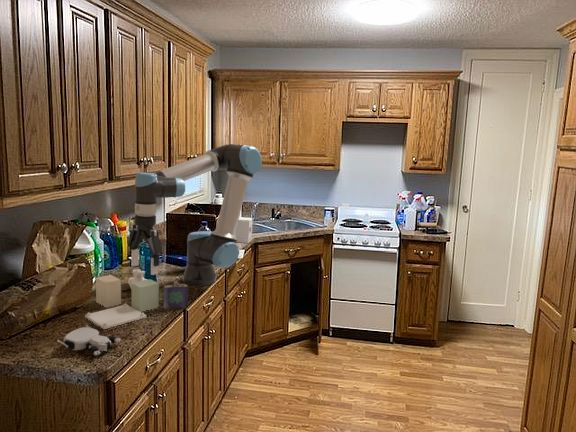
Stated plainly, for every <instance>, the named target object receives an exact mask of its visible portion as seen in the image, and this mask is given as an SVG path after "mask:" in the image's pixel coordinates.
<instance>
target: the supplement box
mask: <svg viewBox="0 0 576 432" xmlns="http://www.w3.org/2000/svg"><path fill="white" fill-rule="evenodd" d="M253 221H254V220H253V217H244V216H239V219H238V223H237V227H236V231H235V236H236V238H237V241H236V243H242V244H249V243H251V242H252V240H253V239H252V237H253Z"/></svg>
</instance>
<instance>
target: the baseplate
mask: <svg viewBox="0 0 576 432" xmlns="http://www.w3.org/2000/svg"><path fill="white" fill-rule="evenodd" d="M84 318H85V319H86V318H87V319H88V320H87V319H86V320H87V321H89V320H90V321H92V322H93V323H95V324H97V325H98V326H100V327H101V328H103V329H106V328H110V327H113V326H117V325H121V324H124V323H127V322H131V321H134V320H139V319H142V318H146V319H147V315H146V314H145V313H144V312H142V313H141V312H140V311H138V310H136V309H134V308H132V307H131V306H130V305H128V304H127V303H123V304H121V305H117V306H113V307H109V308H105V309H103V310H100V311H95V312H87V313H86V314H84ZM142 320H143V319H142ZM90 321H89V322H90ZM139 321H140V320H139ZM92 322H91V323H92ZM93 323H92V324H93ZM95 324H94V325H95ZM98 326H97V327H98ZM101 328H100V329H101Z"/></svg>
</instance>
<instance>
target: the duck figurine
mask: <svg viewBox="0 0 576 432" xmlns="http://www.w3.org/2000/svg"><path fill="white" fill-rule="evenodd" d="M145 274H146V271H145V270H142V269H139V268H136V269H132V276H131V277H129V278H128V280H127V281H128V282H127V284H128V286H129V287H130V288H131V283H135V282H140V281H144V280H149V279H146V278H145V277H144V275H145Z"/></svg>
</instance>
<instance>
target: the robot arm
mask: <svg viewBox="0 0 576 432" xmlns="http://www.w3.org/2000/svg"><path fill="white" fill-rule="evenodd" d="M262 159H263V157H262V155H261V153H260V151H259V150H258V149H257V147H255V146H252V145H247V144H233V143H232V144H231V143H228V144H224V145H220V146H218V147H215V148H212V149H210V150H207V151H205V152H204V154H202V155H200V156H197V157H194V158H191V159H188V160H186V161H183V162H180V163H178V164H175V165H172V166H170V167H167V168H165V169H161V170H159V171H155V172H137V173H136V174H135V179H134V180H135V181H134V203H135V204H134V214H135V215H134V224H132V228H131V234H130V236H129V239H128V242H127V246H128V247H129V248H130V250H131V260H130V263H131V264H130V265H131V267H138V266H139V265H140V262H139V261H140V259H139V258H140V248H139V246H140V244H141V243H142V241H143V240H144V242H145V243H147V246H148V248H149V251H150V253H151V257H150V275H151V276H155V275H158V274H159V266H160V265H159V264H160V258H161V257H163V256H164V253H163V249H162V245H161V244H162V243H161V240H160V237H159V230H158V229H156V230H155V229H154V226H156V225H157V216H156V214H157V199H164V198H166V199H167V198H168V199H169V198H174V199H175V198H176V199H177V198H180V197H183V196H184V194H185V192H186V183H185V181H189V180H190V179H194V178H195V177H198V176H201V175H203V174H206V173H209V172H213V173H214V172H217V171H223V170H224V171H225V170H226V173H227V175H228V180H227V184H226V187H225V192H224V194H223V199H222V202H221V207H220V211H219V216H218V219H217V222H216V226H215V230H213V231H210V230H209V231H206V230H205V231H204V230H202V231H193V232H189V234H188V235H187V240H186V246H187V248H186V266H185V269H184V273H183V275H182V283H183V284H184V285H187V286H193V287H203V286H206V287H207V286H211V285H213V284H215V283H216V282H217V275H216V271H215V267H219V268H224V269H226V268H229V267H231V266H232V265H234V264H235V263H236V261H237V260H238V259H239V256H240V249H239V246H238V244H237V242H236V241H237V238H236V236H235V232H236V227H237V223H238V219H239V217H240V215H241V211H242V206H243V203H244V199H245V195H246V191H247V187H248V183H249V182H250V181H251V180H253V177H254V175H255V174H257V173H258V172H259V171H260V169H261V167H262V165H263V164H262V163H263V160H262ZM214 266H215V267H214Z"/></svg>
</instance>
